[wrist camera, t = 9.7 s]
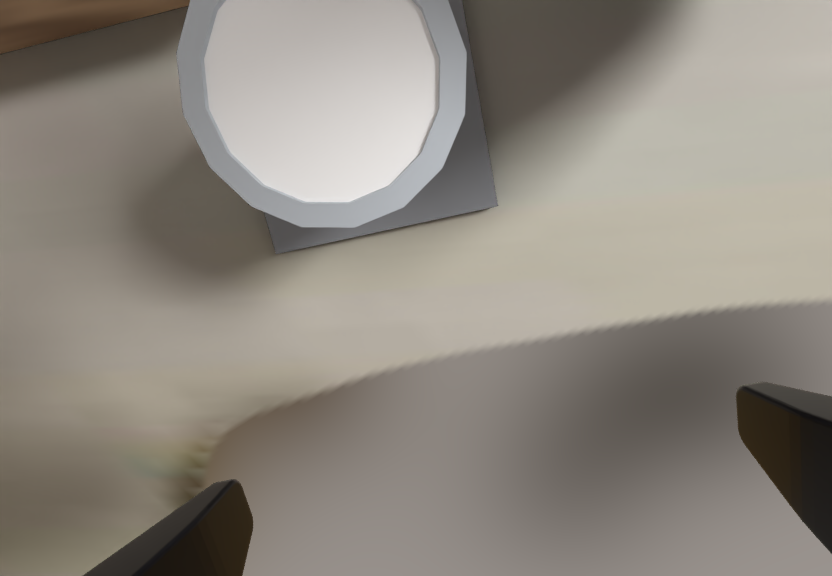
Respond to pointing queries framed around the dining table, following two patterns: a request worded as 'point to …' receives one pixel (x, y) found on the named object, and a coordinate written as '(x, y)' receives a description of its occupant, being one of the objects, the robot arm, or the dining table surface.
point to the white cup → (323, 101)
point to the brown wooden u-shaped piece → (68, 18)
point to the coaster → (441, 197)
